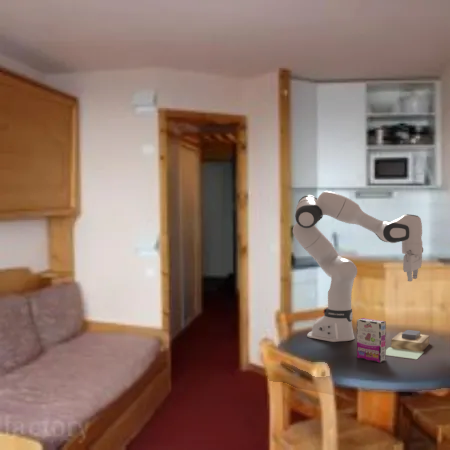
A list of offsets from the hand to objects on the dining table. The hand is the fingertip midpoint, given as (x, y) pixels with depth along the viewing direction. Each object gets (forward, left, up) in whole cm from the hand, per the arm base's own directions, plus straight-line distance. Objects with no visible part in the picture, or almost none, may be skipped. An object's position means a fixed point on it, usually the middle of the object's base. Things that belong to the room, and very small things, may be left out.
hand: (412, 279), depth 253 cm
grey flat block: (0, -3, -26) cm, 26 cm away
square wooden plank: (0, -4, -30) cm, 30 cm away
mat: (0, -18, -30) cm, 35 cm away
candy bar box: (-9, -33, -30) cm, 46 cm away
